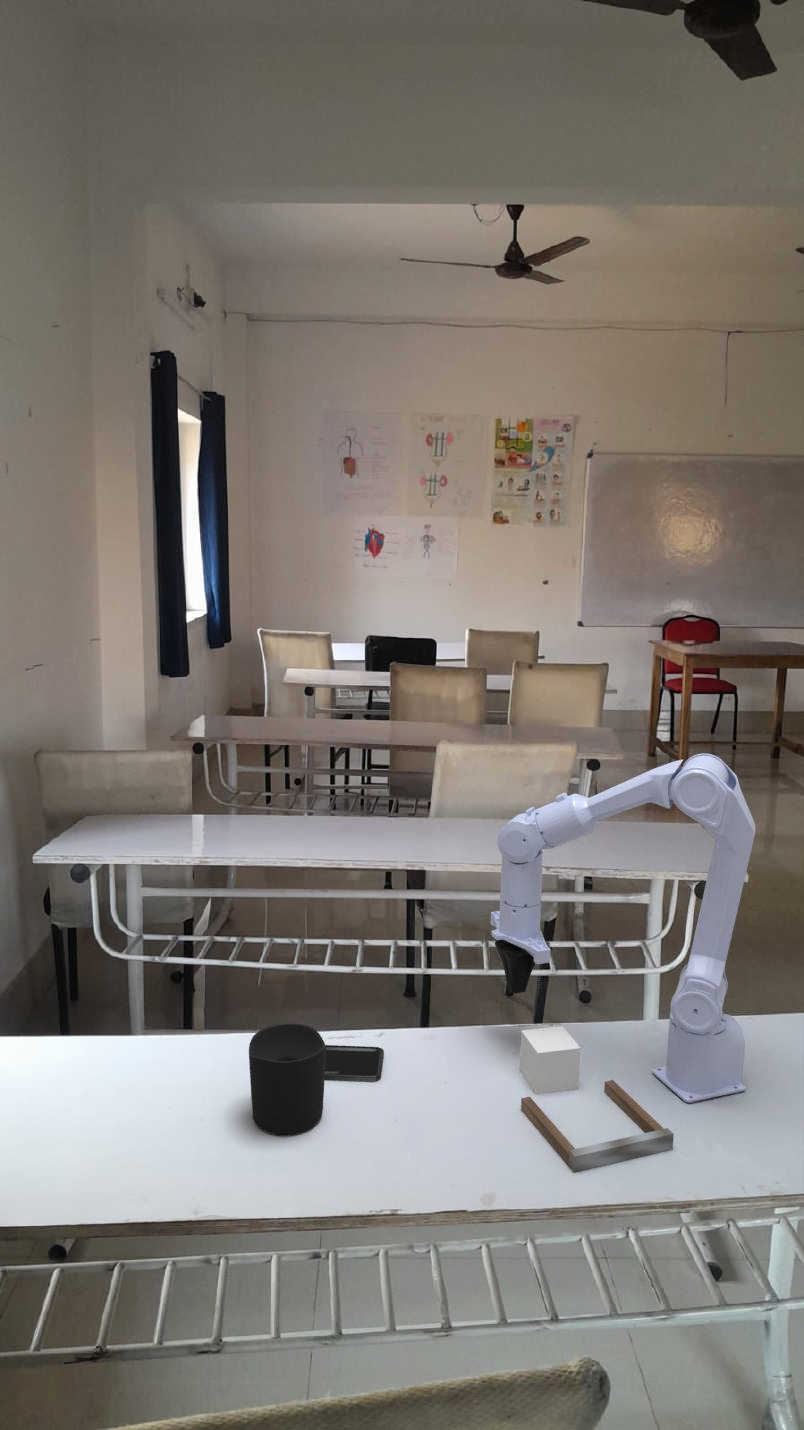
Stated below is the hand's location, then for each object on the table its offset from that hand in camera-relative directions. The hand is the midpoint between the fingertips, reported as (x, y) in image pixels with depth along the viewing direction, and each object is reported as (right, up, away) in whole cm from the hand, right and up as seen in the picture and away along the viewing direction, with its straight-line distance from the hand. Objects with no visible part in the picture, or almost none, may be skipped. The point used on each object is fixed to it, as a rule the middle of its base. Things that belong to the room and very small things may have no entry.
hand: (516, 990), depth 137 cm
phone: (-26, -9, -5) cm, 29 cm away
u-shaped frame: (+7, -12, -18) cm, 23 cm away
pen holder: (-31, -11, -17) cm, 37 cm away
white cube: (+3, -10, -8) cm, 13 cm away
